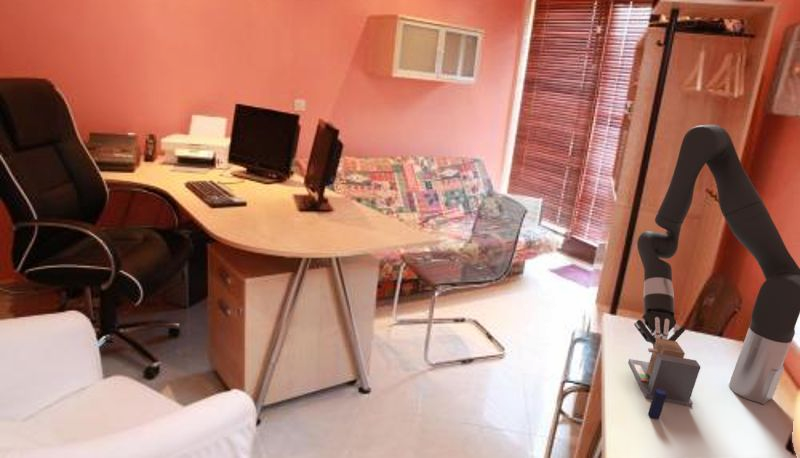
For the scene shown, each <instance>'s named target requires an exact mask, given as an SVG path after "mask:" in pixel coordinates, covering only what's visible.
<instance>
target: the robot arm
mask: <svg viewBox="0 0 800 458" xmlns="http://www.w3.org/2000/svg"><path fill="white" fill-rule="evenodd" d="M731 138H732V137H731V136H730V134H729V133H728V131H727V130H726V129H725V128H723V127H722V126H720V125H717V124H703V125H696V126H693V127H691V128H690V129H689V130H687V132H686V133H685V134H684V136H683V139H682V141H681V145H680V149H679V152H678V156H677V160H676V164H675V167H674V171H673V173H672V177H671V181H670V183H669V186H668V187H667V191H666V193H665V196H664V198H663V200H662V201H661V203H660V204H661V205H660V206H659V209H658V211H657V213H656V215H655V218H654V222H655V224H656V226H658V227H660V228H662V229H663V230H666V233H661V232H656V231H652V230H646V231H643V232H642V233H640V235H639V236H638V239H637V241H636V243H637V245H636V246H637V247H636V248H637V251H638V254H639V257H640V261H641V263H642V267H643V270H644V271H643V272H644V275H643V276H644V277H643V279H644V280H643V281H644V282H643V283H644V285H643V293H642V295H643V316H642V318H641V319H638V320H636V321H635V322H634V324H633V325H634V326H635V328H636V330H637V331H638V332H639V334H640V335H641V336H642V337H643V339H644V340H645V341H646V342H647V343H650V344H652V349H654V345H655V342H656V339H657V338H659V339H665V340H670V341H676V340H678V339H679V337H680V336H681V335H682V334H683V333H685V332H686V329H685V327H682V326H680V325H678V324H677V320H676V318H675V297H674V294H675V293H674V286H673V275H672V274H673V273H672V271H673V270H672V266H671V264H670V263H669V262H667V261H665V260H669V259H671V258H673V257H674V256H675V255H676V253H677V251H678V248H679V240H680V239H679V238H680V233H681V229H682V225H683V223H684V221H685V219H686V217H687V214H688V212H689V211H690V208H691V206H692V203H693V198H694V191H695V187H696V182H697V179H698V177H699V174H700V173H701V171H702V169H703V168H704V166H705V165H706V166H707V167H708V169H709V171H710V172H711V174H712V177H713V178H714V180H715V184H716V189H717V200H718V204H719V209H720V213H721V214H722V216H723V217H724V220H725V222H726V223H727V225H728V227H729V229H730V231H731V233H732V234H733V236H734V237H735V238H736V239H737V240H738V242H739V243H740V244H741V245H743V246H744V247H745V249H746V250H747V251H748V252H749V253H750V254H751V255H752V256H753V257H754V259H755V260H756V262H757V263H758V265H759V267H760V269H761V271H762V274H763V276H764V278H765V280H764V282H763V283H762V284H761V286H760V288H759V290H758V292H757V296H756V298H755V302H754V305H753V309H752V311H751V314H750V315H751V316H750V324H749V327H748V329H747V332H746V335H745V338H744V341H743V344H742V346H741V350H740V351H739V355H738V357H737V361H736V363H735V366H734V368H733V371H732V375H731V377H730V381H729V383H728V386H729V389H730V390H732V392H733V393H735V394H737V395H738V396H740V397H741V398H744V399H747V400H749V401H752V402H755V403H759V404H761V405H765V404H766V403H768V402H769V401H771V400H772V399H773V398H774V395H775V392H776V390H777V387H778V385H779V383H780V380H781V377H782V375H783V373H784V371H785V366H784V365H783V364H784V363H785V360H786V357H787V354H788V352H789V349H790V347H791V344H792V341H793V339H794V337H795V335H796V330H795V329H796V324H797V322H798V320H799V317H800V266H799V265H798V264H797V262H796V261H795V259H794V258H793V256H792V254H791V253H790V252H789V249H787V246H786V245H785V242H784V240H783V238H782V236H781V234H780V232H779V230H778V228H777V226H776V224H775V223H774V220H773V218H772V217H771V215H770V213H769V210H768V209H767V207H766V205H765V203H764V201H763V199H762V198H761V197H760V195H759V193H758V191H757V190H756V188H755V186H754V184H753V182H752V180H751V179H750V177H749V176H748V174H747V172H746V171H745V168H744V167H743V165H742V162H741V160H740V159H739V155H738V153H737V150H736V147H735V145H734V142H733V140H732V139H731ZM663 259H664V260H663ZM671 330H672V332H673V334H672V335H671V336H670V337H669V338H668V336H669V332H671ZM676 342H677V341H676Z"/></svg>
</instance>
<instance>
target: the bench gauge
mask: <svg viewBox="0 0 800 458" xmlns="http://www.w3.org/2000/svg"><path fill="white" fill-rule="evenodd" d="M627 362H628V365H629V367H630V369H631V371H632V373H633V375H634V378H635V379H636V381H637V383H638V386H639V388H640V391H641V392H642V394H643V396H644V398H645V399H649V400H652V399H653V396H654V392H655V389H659V390H664V392H665V393H666V399H665V402H666V403H669V404H674V405H681V406H687V407H693V404H694V402H693V401H692V399H691V397H692V394H693V391H694V389H695V385H696V382H697V379H698V376H699V373H700V370H701V365H700V364H699V362H698V361H697V360H695V359H690V358H686V357H684V358H680V357H674V356H669V355H663V354H657V358H656V361H655V364H654V367H653V371H652V374H651V377H649V375H648V373H647V369H648V365H649V362H650V361H649V362H648V361H643V360H636V359H632V358H629V359H628V361H627ZM665 402H664V403H665Z"/></svg>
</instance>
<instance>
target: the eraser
mask: <svg viewBox="0 0 800 458" xmlns="http://www.w3.org/2000/svg"><path fill="white" fill-rule="evenodd" d="M665 399H666V393H665V392H664V390H659V389H655V392H654V396H653V399H651V402H650V404H649V405H650V406H649V409H648V416H649V418H650V419H654V420H660V417H661V415H662V411H663V408H664V405H665Z"/></svg>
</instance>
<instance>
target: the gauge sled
mask: <svg viewBox="0 0 800 458" xmlns="http://www.w3.org/2000/svg"><path fill="white" fill-rule="evenodd" d="M647 349H648V350H647V352H649V353H651V356H650V359H649V365H648V369H647V373H648V375H649V377H651V374H652V371H653V367H654V364H655V361H656V358H657V354H663V355H669V356H674V357H680V358H685V353H686V352H685V351H684V350H683V348H682V346H680V344H679V343H678V341H670V340H668V339H667V340H665V339H659V338H657V339H656V342H655V345H654V349H653V348H649V347H648V348H647Z"/></svg>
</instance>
